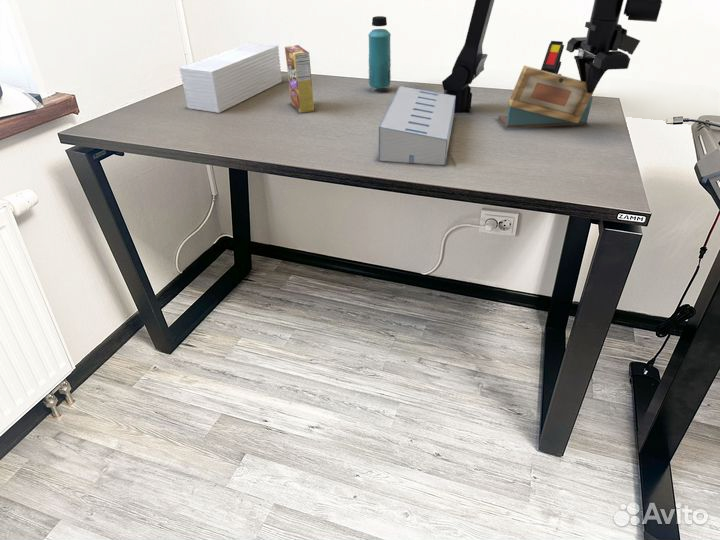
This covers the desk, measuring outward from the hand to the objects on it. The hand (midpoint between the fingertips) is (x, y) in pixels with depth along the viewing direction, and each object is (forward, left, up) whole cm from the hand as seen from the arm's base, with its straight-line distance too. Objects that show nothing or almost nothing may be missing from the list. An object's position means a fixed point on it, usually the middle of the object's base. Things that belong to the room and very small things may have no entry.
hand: (587, 91), depth 122 cm
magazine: (0, +21, -9) cm, 23 cm away
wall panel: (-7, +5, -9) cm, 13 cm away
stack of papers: (-86, +40, -9) cm, 96 cm away
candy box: (-67, +25, -9) cm, 73 cm away
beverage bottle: (-44, +38, -9) cm, 59 cm away
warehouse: (-39, -1, -9) cm, 41 cm away
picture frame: (-10, 0, -5) cm, 11 cm away
